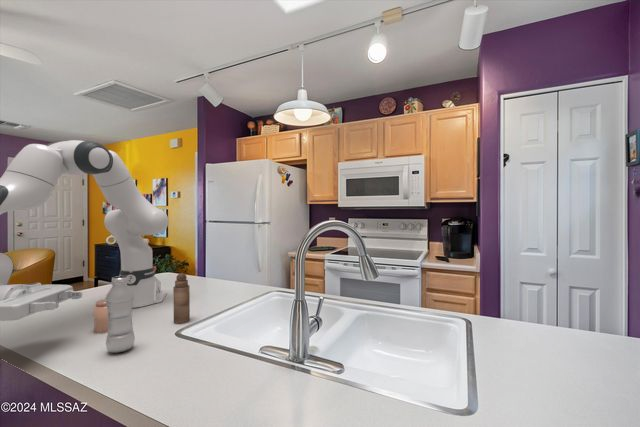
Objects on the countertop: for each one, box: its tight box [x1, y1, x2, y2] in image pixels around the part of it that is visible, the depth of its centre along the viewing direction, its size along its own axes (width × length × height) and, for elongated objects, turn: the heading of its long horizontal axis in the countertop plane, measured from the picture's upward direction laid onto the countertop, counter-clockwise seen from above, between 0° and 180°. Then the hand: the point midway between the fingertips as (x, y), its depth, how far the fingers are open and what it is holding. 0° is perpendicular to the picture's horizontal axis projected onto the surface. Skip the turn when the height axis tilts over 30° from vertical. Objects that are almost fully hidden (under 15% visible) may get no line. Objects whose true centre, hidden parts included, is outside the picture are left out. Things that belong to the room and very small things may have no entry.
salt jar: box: [93, 299, 109, 334], centre depth 95 cm, size 6×6×9 cm
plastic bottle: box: [104, 275, 136, 354], centre depth 81 cm, size 6×7×20 cm
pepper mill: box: [172, 272, 191, 325], centre depth 103 cm, size 5×5×17 cm
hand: (69, 299), depth 79 cm, fingers open, 8 cm apart
